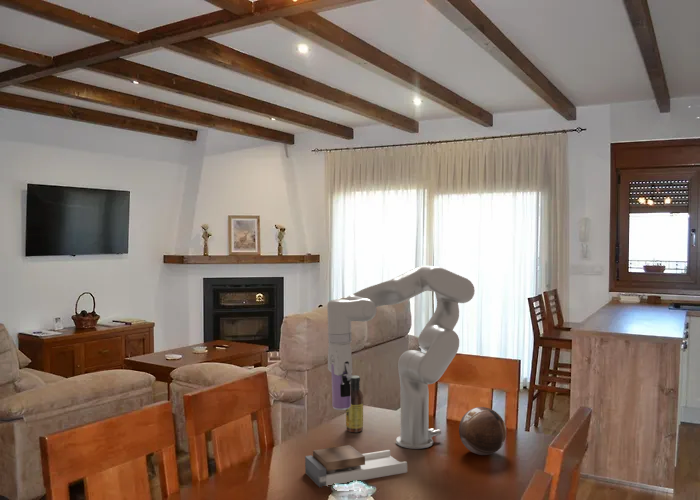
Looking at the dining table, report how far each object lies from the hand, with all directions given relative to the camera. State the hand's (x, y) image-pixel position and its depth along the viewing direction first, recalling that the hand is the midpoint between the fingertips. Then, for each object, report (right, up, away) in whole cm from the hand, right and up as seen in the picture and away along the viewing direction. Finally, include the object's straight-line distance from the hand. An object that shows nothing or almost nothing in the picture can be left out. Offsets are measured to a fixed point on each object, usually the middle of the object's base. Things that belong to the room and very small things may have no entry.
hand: (341, 393), depth 201 cm
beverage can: (0, -5, 0) cm, 5 cm away
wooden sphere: (+46, -20, +2) cm, 50 cm away
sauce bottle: (+4, -20, +26) cm, 33 cm away
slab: (-1, -19, -16) cm, 25 cm away
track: (+5, -20, -14) cm, 25 cm away
